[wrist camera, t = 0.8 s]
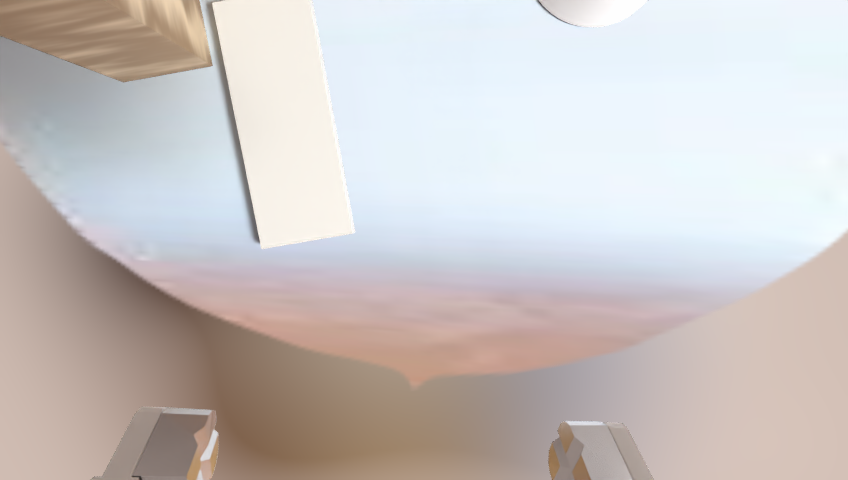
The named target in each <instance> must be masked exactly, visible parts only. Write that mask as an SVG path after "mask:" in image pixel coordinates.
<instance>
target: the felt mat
mask: <svg viewBox="0 0 848 480" xmlns="http://www.w3.org/2000/svg"><path fill="white" fill-rule="evenodd" d="M212 6H213V11H214V16H215V21H216V25H217V30H218V35H219V40H220V45H221V50H222V55H223V60H224V65H225V70H226V75H227V80H228V85H229V90H230V95H231V100H232V105H233V110H234V115H235V120H236V125H237V130H238V135H239V140H240V145H241V150H242V155H243V160H244V165H245V170H246V175H247V180H248V185H249V189H250V194H251V199H252V204H253V209H254V214H255V219H256V224H257V229H258V234H259V239H260V244H261V249H265V248H271V247H277V246H283V245H289V244H294V243H300V242H306V241H312V240H318V239H323V238H329V237H335V236H341V235H347V234H353V233H355V228H354V222H353V217H352V211H351V206H350V201H349V195H348V190H347V184H346V179H345V173H344V168H343V163H342V157H341V152H340V146H339V141H338V136H337V130H336V125H335V119H334V114H333V108H332V103H331V98H330V92H329V87H328V81H327V76H326V70H325V65H324V60H323V54H322V49H321V43H320V38H319V33H318V27H317V22H316V16H315V11H314V5H313V0H224V1H219V2H213V3H212Z"/></svg>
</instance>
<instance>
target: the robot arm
mask: <svg viewBox="0 0 848 480" xmlns="http://www.w3.org/2000/svg"><path fill="white" fill-rule="evenodd" d="M539 1H540V3H541V4H542V5H543V6H544V7H545V8H546V9H547V10H548V11H549V12H550V13H552V14H553V15H554V16H556V17H557V18H559V19H561V20H563V21H565V22H567V23H570V24H573V25H576V26H582V27H602V26H607V25H611V24H614V23H617V22H619V21H621V20H624V19H625V18H627V17H629V16H630V15H632V14H633V13H634V12H636V11H637V10H638V9H639V8H640V7H641V6H643V5H644V4H645V3H646V2H647V1H649V0H539ZM215 424H216V413H215V410H201V409H184V408H167V407H143V406H142V407H141V408H140V409H139V410H138V411H137V412H136V413H135V415H134V417H133V418H132V420H131V422H130V424H129V426H128V428H127V430H126V432H125V434H124V436H123V438H122V439H121V441H120V443H119V445H118V447H117V449H116V451H115V453H114V455H113V457H112V459H111V460H110V462H109V464H108V466H107V468H106V470H105V472H104V474H103V476H99V477H98V476H97V477H93V478H92V479H91V480H209V479H210V478H211V477H212V475H213V472H214V468H215V465H216V460H217V455H218V448H219V436H218V433H217V432H216V431H215V430H214V427H215ZM558 434H559V438H558V439H556V440H555V441H553V442H552V444H551V447H550V450H549V456H548V457H549V458H548V464H549V471H550V475H551V478H552V480H654V479H653V477H652V475H651V473H650V471H649V469H648V467H647V465H646V463H645V461H644V460H643V457H642V455H641V454H640V451H639V450H638V448H637V446H636V444H635V442H634V440H633V438H632V436H631V434H630V432H629V430H628V428H627V427H626V426H625V425H624V424H623V423H612V422H593V421H588V422H587V421H564V422H562V423H561V424H560V426H559V428H558Z"/></svg>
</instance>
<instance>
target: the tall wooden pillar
mask: <svg viewBox="0 0 848 480" xmlns="http://www.w3.org/2000/svg"><path fill="white" fill-rule="evenodd" d="M0 36H2V37H5V38H7V39H10V40H13V41H15V42H18V43H21V44H23V45H26V46H29V47H31V48H34V49H37V50H39V51H42V52H45V53H47V54H50V55H53V56H55V57H58V58H61V59H63V60H66V61H69V62H71V63H74V64H76V65H79V66H82V67H84V68H87V69H90V70H92V71H95V72H98V73H100V74H103V75H106V76H108V77H111V78H114V79H116V80H119V81H122V82H128V81H133V80H138V79H144V78H149V77H155V76H160V75H166V74H171V73H177V72H182V71H188V70H193V69H198V68H204V67H209V66H213V65H212V60H211V56H210V51H209V46H208V41H207V36H206V31H205V26H204V21H203V16H202V11H201V6H200V1H199V0H0Z"/></svg>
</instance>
